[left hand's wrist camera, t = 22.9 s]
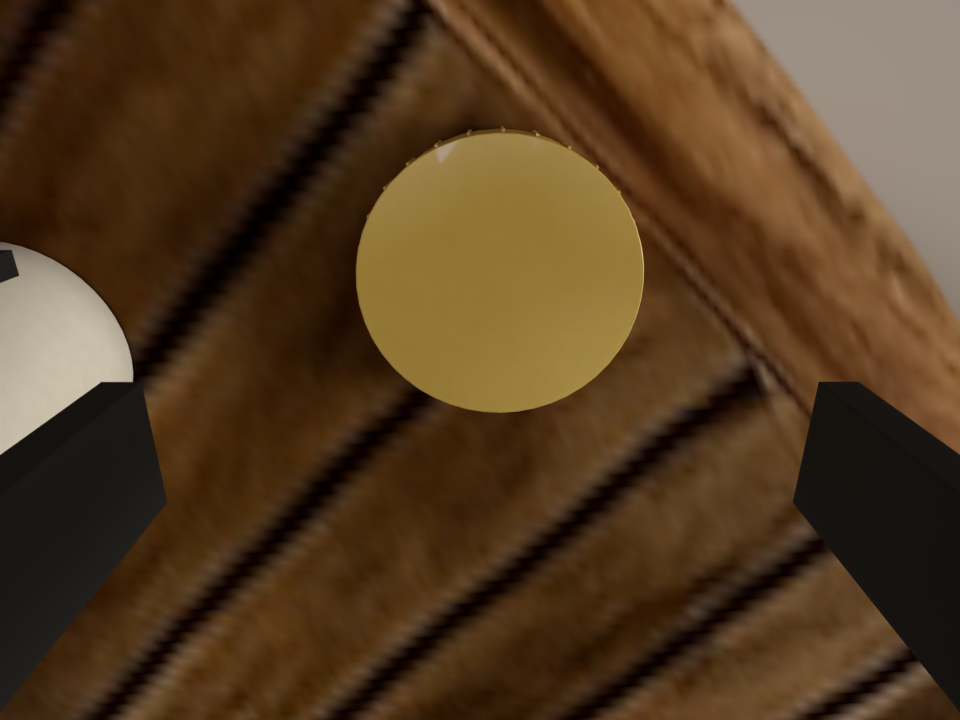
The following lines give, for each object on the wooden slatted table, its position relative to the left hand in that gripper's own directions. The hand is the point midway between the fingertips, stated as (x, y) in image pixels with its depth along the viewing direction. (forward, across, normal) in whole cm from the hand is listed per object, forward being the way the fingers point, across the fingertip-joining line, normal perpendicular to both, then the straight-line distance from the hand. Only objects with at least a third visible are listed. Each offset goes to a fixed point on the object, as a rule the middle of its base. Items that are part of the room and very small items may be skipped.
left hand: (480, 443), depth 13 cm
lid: (+9, -1, -1) cm, 9 cm away
